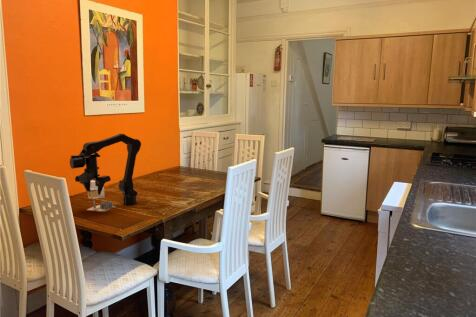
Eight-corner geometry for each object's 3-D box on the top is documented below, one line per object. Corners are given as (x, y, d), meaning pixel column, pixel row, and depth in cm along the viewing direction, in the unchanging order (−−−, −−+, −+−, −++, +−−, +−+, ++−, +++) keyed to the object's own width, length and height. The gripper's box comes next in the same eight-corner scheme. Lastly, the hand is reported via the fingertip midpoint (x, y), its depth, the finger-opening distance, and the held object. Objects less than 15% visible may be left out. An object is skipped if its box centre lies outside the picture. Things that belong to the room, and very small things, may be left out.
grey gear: (114, 206, 209) (114, 201, 208) (109, 209, 202) (108, 204, 202) (104, 205, 210) (103, 200, 209) (98, 209, 203) (98, 204, 203)
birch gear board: (115, 208, 208) (115, 199, 208) (104, 213, 199) (103, 204, 198) (98, 206, 212) (97, 198, 211) (86, 211, 203) (85, 202, 202)
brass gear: (102, 194, 201) (102, 189, 200) (95, 197, 194) (95, 192, 194) (93, 194, 202) (92, 188, 202) (85, 197, 196) (84, 191, 196)
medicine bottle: (99, 196, 235) (97, 178, 233) (105, 198, 231) (103, 179, 229) (88, 199, 230) (87, 180, 228) (94, 200, 225) (92, 181, 223)
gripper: (66, 168, 191) (69, 197, 193) (96, 169, 186) (99, 199, 188) (80, 164, 201) (83, 191, 204) (110, 165, 196) (112, 193, 199)
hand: (94, 194), depth 198 cm, fingers closed on brass gear, 6 cm apart
